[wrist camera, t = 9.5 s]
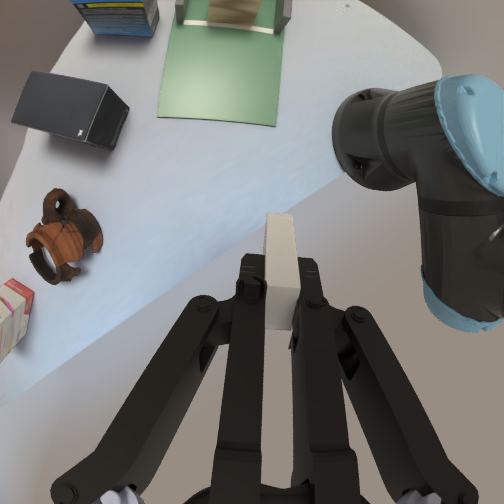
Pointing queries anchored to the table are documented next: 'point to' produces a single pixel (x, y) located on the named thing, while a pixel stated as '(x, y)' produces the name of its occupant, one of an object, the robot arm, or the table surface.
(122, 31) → the label tape cartridge
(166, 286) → the table surface
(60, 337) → the table surface
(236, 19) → the wooden block
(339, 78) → the table surface
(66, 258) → the pottery mug
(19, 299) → the ink cartridge box
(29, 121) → the small box
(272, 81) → the pitch
